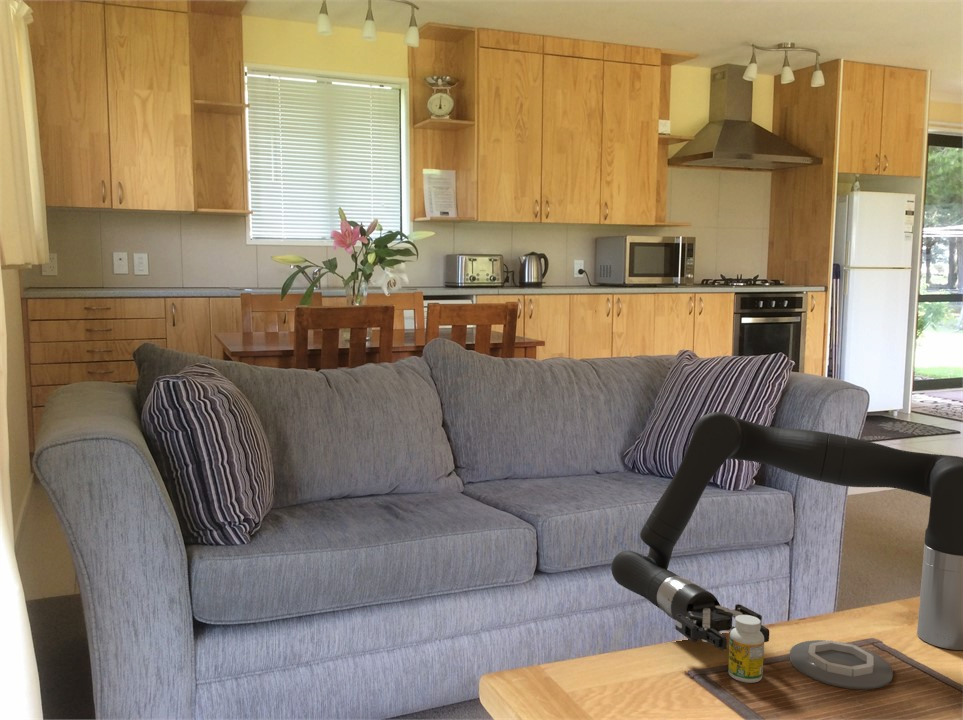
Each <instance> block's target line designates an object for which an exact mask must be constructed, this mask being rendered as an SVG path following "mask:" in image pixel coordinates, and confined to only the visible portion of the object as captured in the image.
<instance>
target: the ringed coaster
mask: <svg viewBox="0 0 963 720" xmlns="http://www.w3.org/2000/svg"><path fill="white" fill-rule="evenodd" d="M789 660H790V661H789V662H790V664H791V665H792V666H793V667H794V668H795V669H796V670H797V671H799V672H800V673H801V674H803V675H805V676H806V677H808V678H810V679H812V680H815V681H818V682H820V683H822V684H826V685H830V686H834V687H837V688H843V689H850V690H873V689H874V690H875V689H879V688H883V687H885V686H887V685H889V684H890V683H891V682H892V680H893V675H894V670H893V668H892V665H891V664H890V662H888V661H887V660H886V659H884V658H883V657H882V656H880V655H879V654H877V653H875V652H873V651H870V649H869V650H868V649H867V648H864V647H860V646H858V645H856V644H855V645H854V644H851V643H847V642H846V643H845V642H841V641H834V640H827V639H826V640H821V639H817V640H806V641H801V642H799V643H797V644H795V645H793V646H792V647H791V648H790V650H789Z"/></svg>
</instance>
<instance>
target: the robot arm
mask: <svg viewBox="0 0 963 720" xmlns="http://www.w3.org/2000/svg"><path fill="white" fill-rule="evenodd" d="M690 437H691V438H690V441H689V444H688V446H687V448H686V451H685V454H684V456H683V458H682V461H680V465H679V466H678V468H677V471H676V472H675V474H674V476H673V477H672V479H671V481H670V482H669V484H668V485H667V487H666V488H665V490H664V492H662V494H661V497H660V498H659V500H658V501H657V503H656V504H655V506H654V508H653V509H652V511H651V513H650V514H649V516H648V518H647V519H646V521H645V523H644V525H643V526H642V528H641V530H640V533H639V536H640V539H641V540H642V542H643V543H644V544H645V545H647V546H648V547H649V551H648V555H647V556H646V555H643V554H640V553H639V552H636V551H635V550H634V551H633V550H622V551H621V552H619V553H617V555H615V556H614V558H613V560H612V563H611V568H610V569H611V574H612V578H613V579H614V581H615V582H616V583H617V584H618V585H620V586H621V587H623V588H625V589H626V590H629V591H630V592H632V593H634V594H637V595H639V596H641V597H643V599H644V598H645V599H646V600H648V601H649V602H650V603H651V604H653V606H655V607H657V608H659V609H660V610H661V611H663V612H664V613H665V614H666V615H667V616H668V617H669V618H670V619H672V620H674V621H675V627H674V628H675V629H674V630H676V631H677V632H678V633H680V634H681V635H682V636H683V637H685V638H687V639H688V640H689V641H690V642H693V643H698V642H699V640H701V641H702V642H704V643H709V644H710V645H712V646H714V647H715V648H718V649H719V650H720V651H725V650H727V648H728V647H727V646H728V645H727V644H728V638H727V637H726V636H725V635H724V634H723V633H721V632H723V631H724V632H725V631H726V632H731V631H732V629H734V628H736V627H735V626H733V618H734V619H735V617H736V616H738V615H750V616H754V617H756V618H758V619H759V620H760V621H761V623H763V622H762V620H763V615H761V614H759V613H758V612H755V611H754V610H751V609H750V608H748V607H746V606H744V605H742V604H739V603H737V604H735V605H734V609H730V608H728V607H725V606H721V604H720V602H719V600H718V598H717V596H715V594H713V593H712V592H710V591H708V590H706V589H704V588H703V587H702V586H699V585H698V584H696V583H695V582H692V581H691V580H690V579H687V578H684V577H681V576H680V575H678V574H676V573H674V572H672V571H671V570H670V569H669V566H670V563H671V559H672V558H671V557H672V555H673V554H672V553H673V551H674V547H675V546H676V544H677V543H678V541H679V539H680V538H681V537H682V534H683V533H684V531H685V530H686V527H687V526H688V524H689V522H690V520H691V518H692V516H693V515H694V514H693V513H694V512H695V511H696V510H695V509H696V507H697V505H698V503H699V501H700V498H701V497H702V495H703V493H704V491H705V490H706V488H707V486H708V484H709V483H710V481H711V480H712V479H713V477H714V476H715V475H716V473H717V472H718V471H719V470H720V468H721V467H722V466H723V465H724V464H725V462H726V461H727V460H737V461H745V462H746V461H747V462H753V463H759V464H764V465H768V466H771V467H775V468H777V469H780V470H783V471H786V472H788V473H791V474H793V475H796V476H800V477H803V478H807V479H810V480H814V481H818V482H819V481H820V482H821V483H823V482H824V483H827V484H831V485H836V486H842V487H850V488H892V489H897V490H898V489H899V490H904V491H906V492H911V493H915V494H917V495H918V494H919V495H922V496H924V497H928V498H930V501H929V502H930V503H929V513H928V515H929V516H928V523H927V526H926V529H925V531H924V542H923V543H924V544H923V554H922V555H923V557H922V570H921V581H920V592H919V593H920V594H919V603H918V605H919V606H918V617H917V618H918V619H917V628H916V629H917V630H916V635H917V636H918V638H919V639H920V640H922V641H924V642H926V643H927V644H930V645H931V646H932V645H933V646H934V647H939V648H942V649H946V650H954V651H963V457H962V456H958V455H947V454H935V453H928V452H927V453H926V452H919V451H918V452H916V451H909V450H903V449H898V448H894V447H891V446H887V445H884V444H880V443H876V442H871V441H867V440H864V439H859V438H855V437H850V436H846V435H841V434H835V433H831V432H825V431H816V430H809V429H800V428H785V427H784V428H783V427H780V428H779V427H774V426H769V425H763V424H761V423H756V422H752V421H748V420H745V419H742V418H739V417H736V416H733V415H731V414H728V413H726V412H721V411H713V412H709V413H706V414H704V415H703V416H701V417H700V418H699V419H698V420H697V421H696V423H695V425H694V427H693V430H692V435H691V436H690ZM760 632H761V633H762V634H763V636H764V643H768V642H769V641H770V629H769V628H768V627H766V626H764V625H762V624H761V628H760Z"/></svg>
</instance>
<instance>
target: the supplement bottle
mask: <svg viewBox="0 0 963 720" xmlns="http://www.w3.org/2000/svg"><path fill="white" fill-rule="evenodd" d="M761 625H762V622H761V621H760V620H759V619H758V618H756V617H754V616H750V615H738V616H736V617H735V618H734V627H736V628H734V629H732V631H731V632H730V631H729V632H730V633H729V648H728V668H727V669H728V671H727V673H728V675H729V676H730V677H731V678H732V679H734V680H736V681H738V682H742V683H746V684H748V683H750V684H752V683H758V682H759V681H761V679H762V678H763V672H764V653H765V642H764V636H763V634H762V633H761V632H760V628H761Z"/></svg>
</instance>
